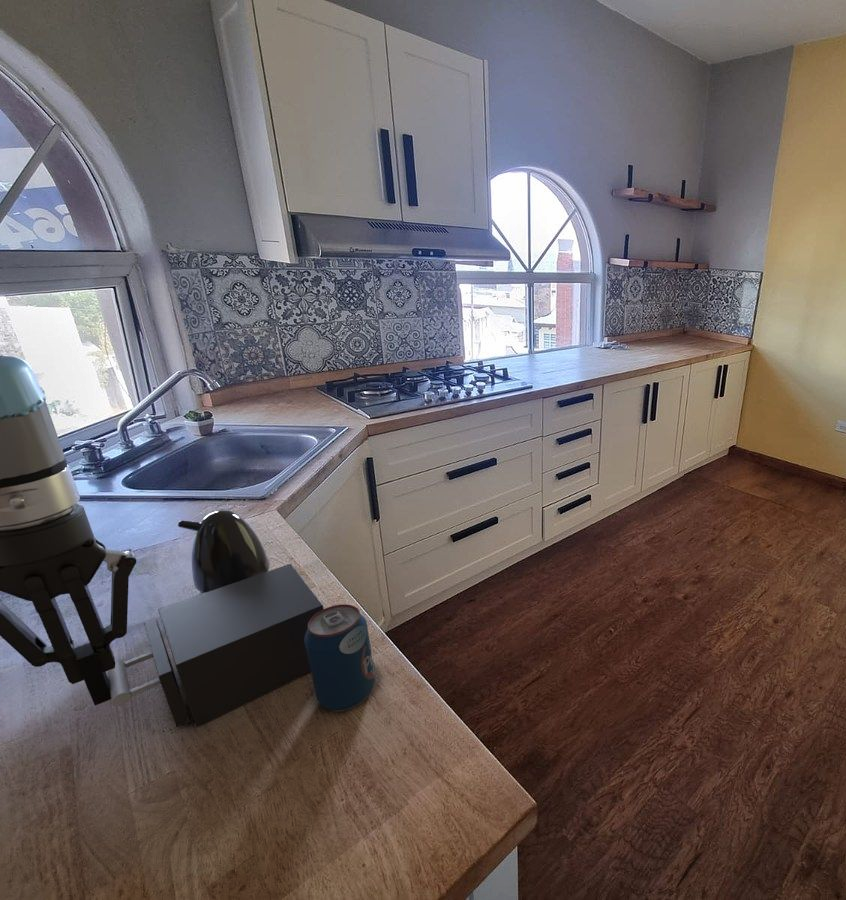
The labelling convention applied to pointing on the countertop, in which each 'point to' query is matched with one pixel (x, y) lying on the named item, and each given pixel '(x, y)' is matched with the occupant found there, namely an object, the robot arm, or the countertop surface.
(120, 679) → the drawer
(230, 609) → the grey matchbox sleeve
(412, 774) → the countertop surface
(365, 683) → the soda can
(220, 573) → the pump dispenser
